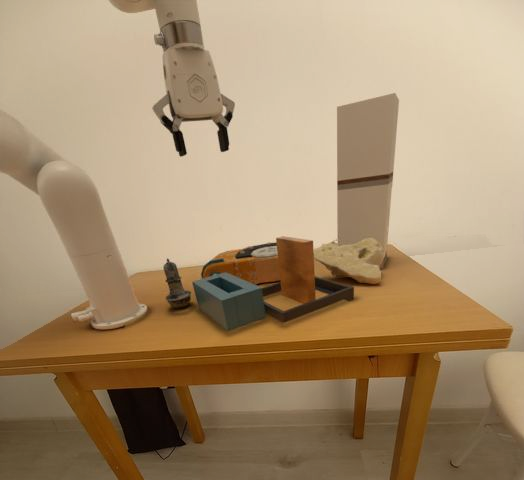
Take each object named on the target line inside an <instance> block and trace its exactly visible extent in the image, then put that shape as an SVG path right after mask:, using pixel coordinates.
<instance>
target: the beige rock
mask: <svg viewBox="0 0 524 480" xmlns="http://www.w3.org/2000/svg"><path fill="white" fill-rule="evenodd" d="M336 241H337V242H336ZM313 250H314V261H317V262H319V263H321V264H322V265H323V266H324V267H325V268H326V269H327V270H328V271H329V272H330V274H331V275H332V278H334V279H338V278H341V279H344V278H352V279H354V280H355V281H356V282H358V283H359V284H363V283H364V284H371V285H376V284H378V283H380V282H381V280H382V271H381V269H380V268H379V267H380V266H381V264H382V262H383V260H384V258H383V257H384V252H383V247H382V246H381V245H380V243H379V242H378V241H376V240H375V239H373V238H367V239H364V240H362V241H360V242H358V243H356V244H352V245H341V246H338V239H337V238H336V239H333V240H332V241H330V242H328V243H322V244H321V246H319V247H317V248H313Z"/></svg>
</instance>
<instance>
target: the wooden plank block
mask: <svg viewBox="0 0 524 480" xmlns="http://www.w3.org/2000/svg"><path fill="white" fill-rule="evenodd" d="M275 243H277V253H278V263H279V272H280V281H279V282H281V291H280V292H281V295H282V296H283V297H284V296H285V297H286V298H288V299H291V300H294V301H297V302H298V303H300V304H305V303H307V302H310V301H313V300H316V299H317V298H316V297H317V296H316V290H315V276H316V275H315V273H316V272H315V259H314V240H311V239H305V238H298V237H291V236H279V237H276V238H275Z"/></svg>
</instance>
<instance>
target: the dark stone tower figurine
mask: <svg viewBox="0 0 524 480" xmlns="http://www.w3.org/2000/svg"><path fill="white" fill-rule="evenodd" d="M163 271H164V275H165V278H166V279H165V282H166V283H167V286H168V289H169V294H167V295H166V296H165V298H164V299H165V301H167V303H168V304H169V305H170V306H171V307H172V308H176V309H178V310H181V309H185V308H186V307H187V305H189V303H191V298H192V297H191V295H192V292H191V291H189V290H185V288H184V286H183V283H182V280H181V279H182V276H180V274H179V270H178V266H177V264H176V263H175V262H173V261H170V259H169V258H168V257H167V258H166V263H164V264H163Z"/></svg>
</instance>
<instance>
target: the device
mask: <svg viewBox="0 0 524 480" xmlns="http://www.w3.org/2000/svg"><path fill="white" fill-rule="evenodd" d="M225 272H226V273H229V274H231V275H233V276H236V277H238V278H240V279H243V280H245V281H247V282H250V283H252V284H254V285H259V284H263V283H264V284H265V283H275V282H277V283H278V282H280V272H279V263H278V253H277V243H276V242H271V241H270V242H266V243H262V244H256V245H250V246H247V247H243V248H239V249H238V248H237V249H231V250H225V251H223V252H219V253H218V254H217V255H215V256H214V257H213V258H212V259H210V260H209V261H207V263H205V264H204V265H203V266H202V270H201V272H200V274H201V279H203V278H207V277H210V276H214V275H218V274H221V273H225Z"/></svg>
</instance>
